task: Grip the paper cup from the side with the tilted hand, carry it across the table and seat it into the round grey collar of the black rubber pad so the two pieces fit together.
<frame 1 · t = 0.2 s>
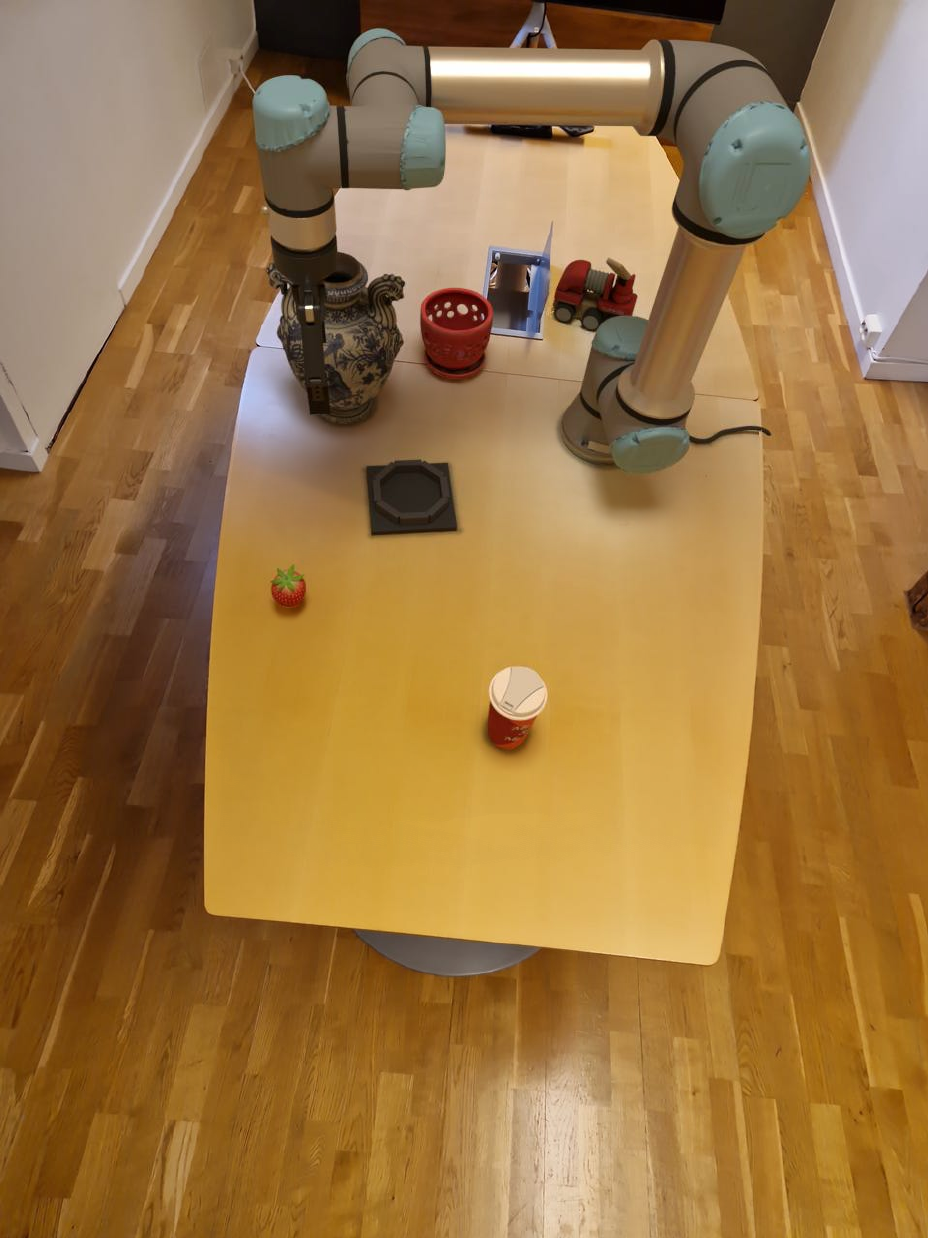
hand: (318, 376, 111), 28 cm above the table, tool pointing down, fingers open, 13 cm apart
toy fire truck: (588, 322, 164), on the table
plant pot: (453, 361, 155), on the table
fruit: (291, 603, 125), on the table
pad: (410, 499, 137), on the table
decorative vase: (344, 403, 147), on the table
paper cup: (506, 731, 117), on the table
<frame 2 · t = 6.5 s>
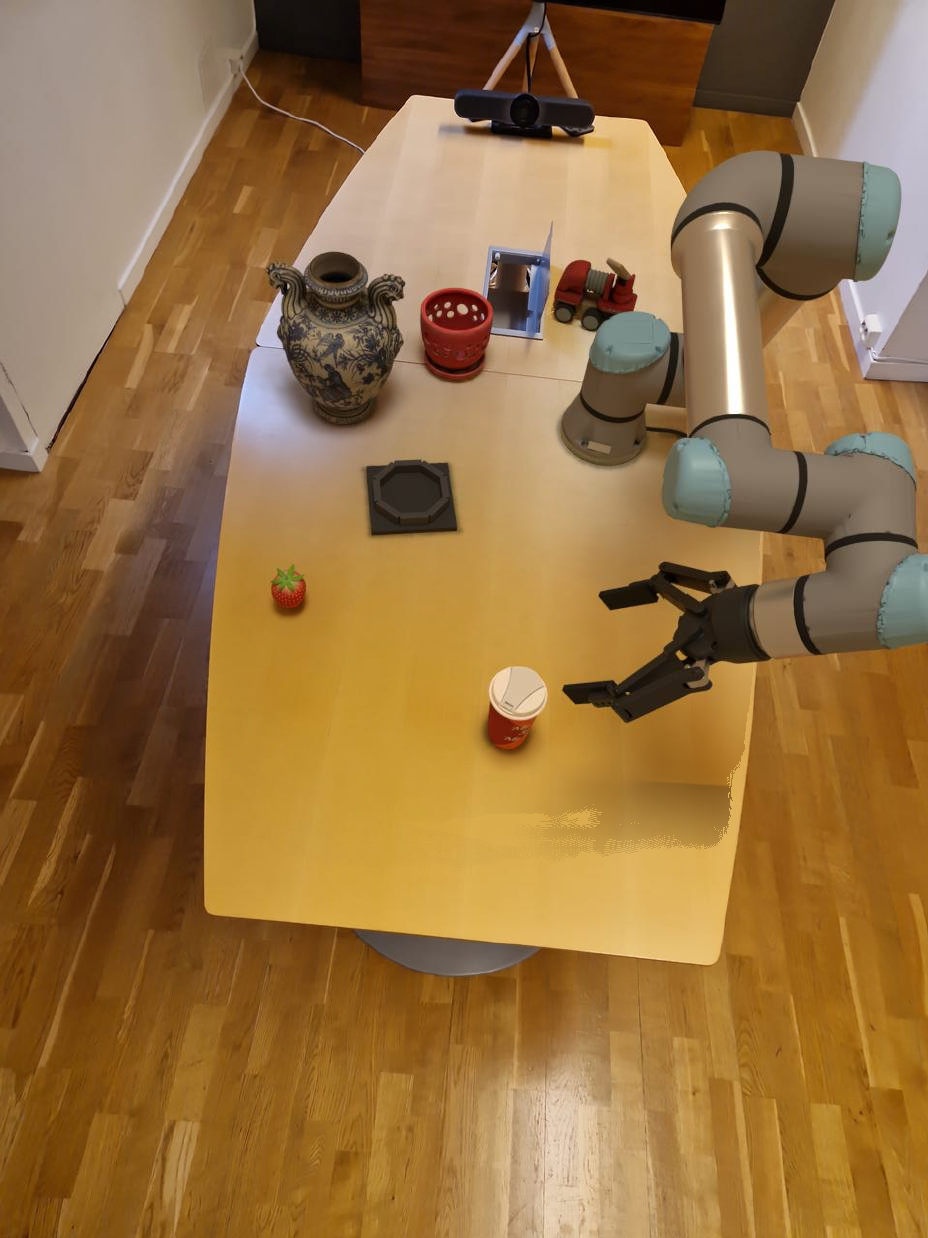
hand: (587, 646, 93), 28 cm above the table, tool tilted 45°, fingers open, 13 cm apart
nothing on the table moved.
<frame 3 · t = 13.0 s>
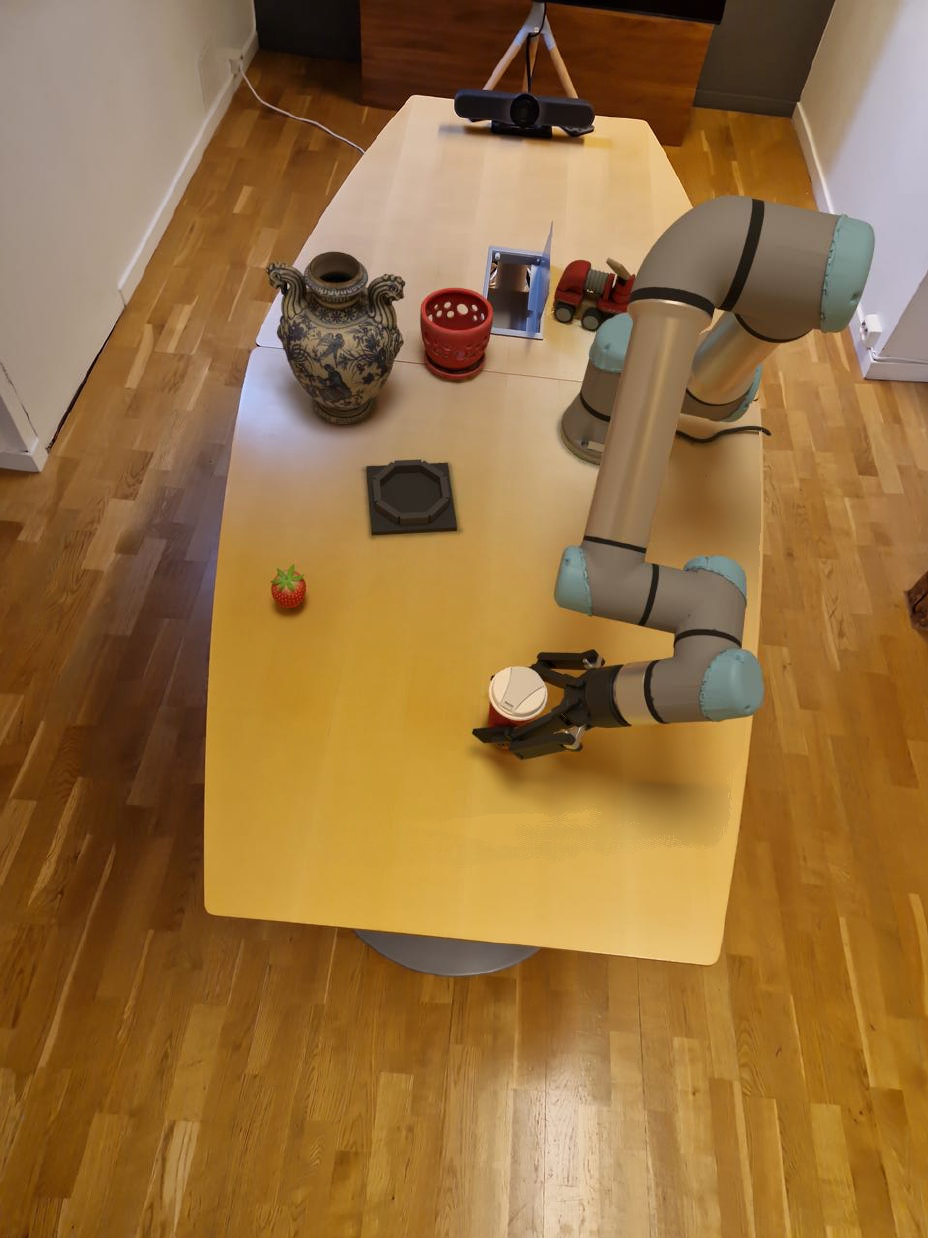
hand: (487, 709, 113), 5 cm above the table, tool tilted 45°, fingers closed on paper cup, 8 cm apart
paper cup: (506, 731, 117), on the table, touching gripper
everything else where it was.
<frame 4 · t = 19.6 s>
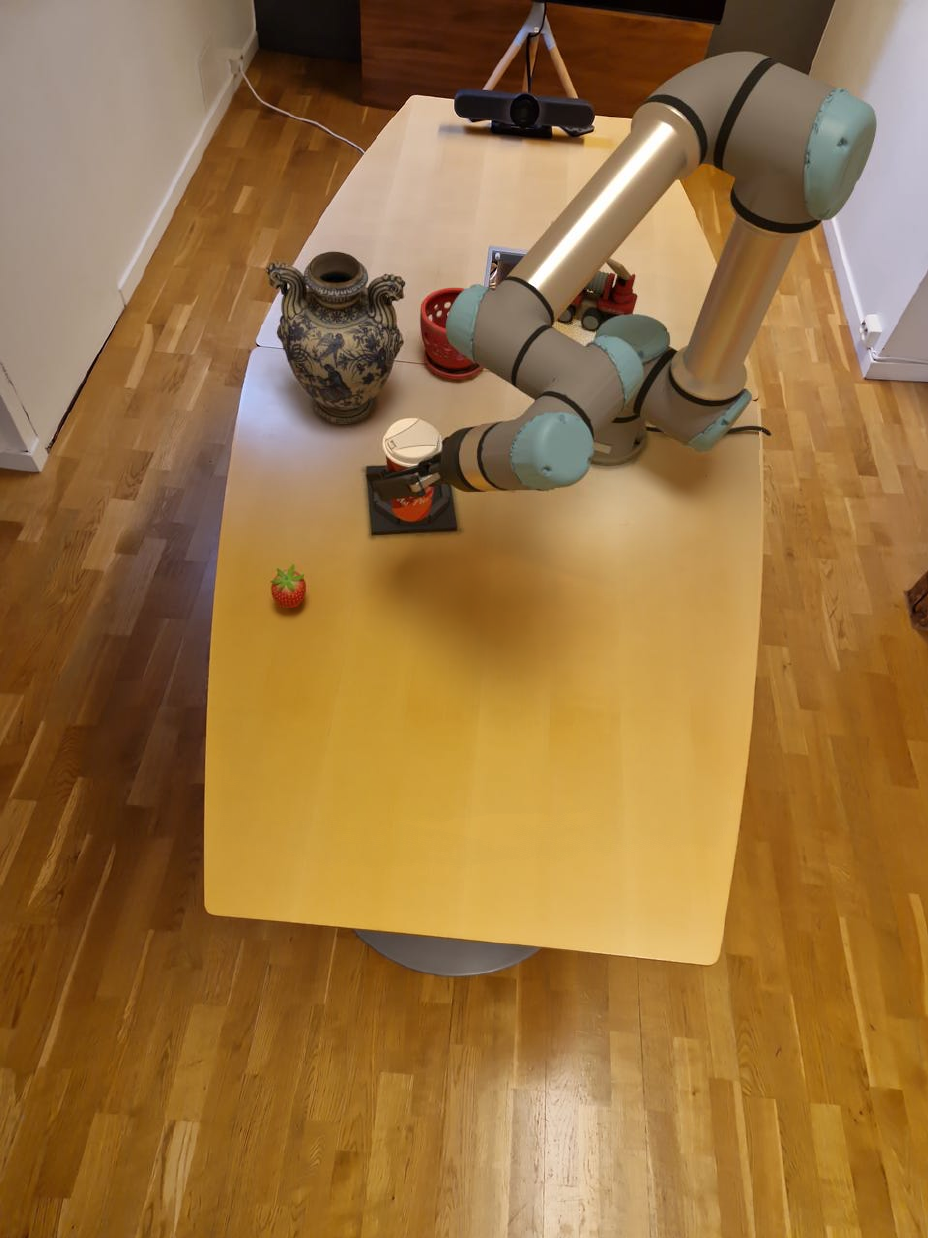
hand: (396, 467, 112), 21 cm above the table, tool tilted 45°, fingers closed on paper cup, 8 cm apart
paper cup: (411, 506, 116), point 16 cm above the table, touching gripper
everything else where it was.
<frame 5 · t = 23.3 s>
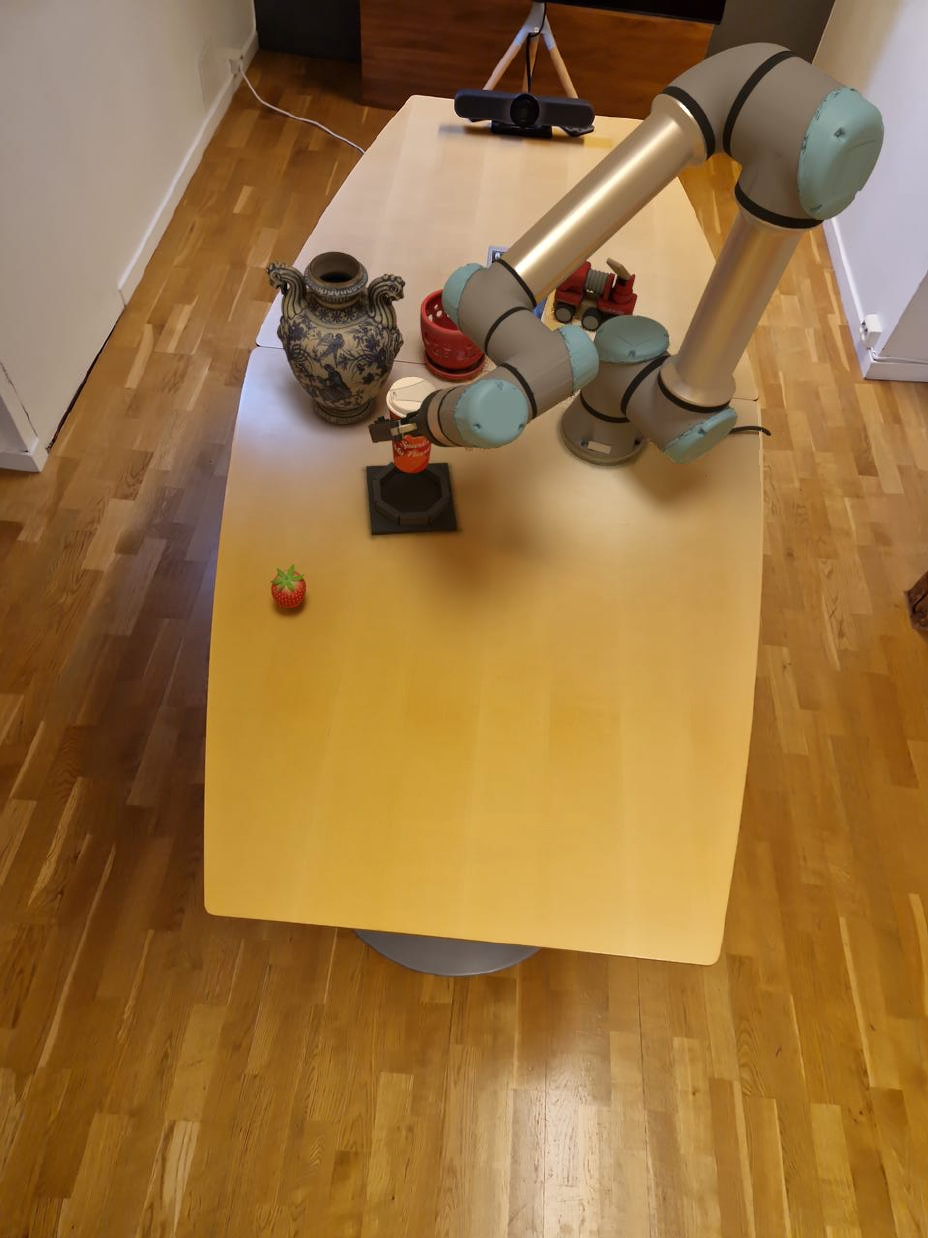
hand: (403, 421, 126), 15 cm above the table, tool tilted 45°, fingers closed on paper cup, 8 cm apart
paper cup: (411, 460, 129), point 10 cm above the table, touching gripper
everything else where it was.
when the fingers open (6 cm above the table, at t = 26.2 s): paper cup stays where it is, resting on pad.
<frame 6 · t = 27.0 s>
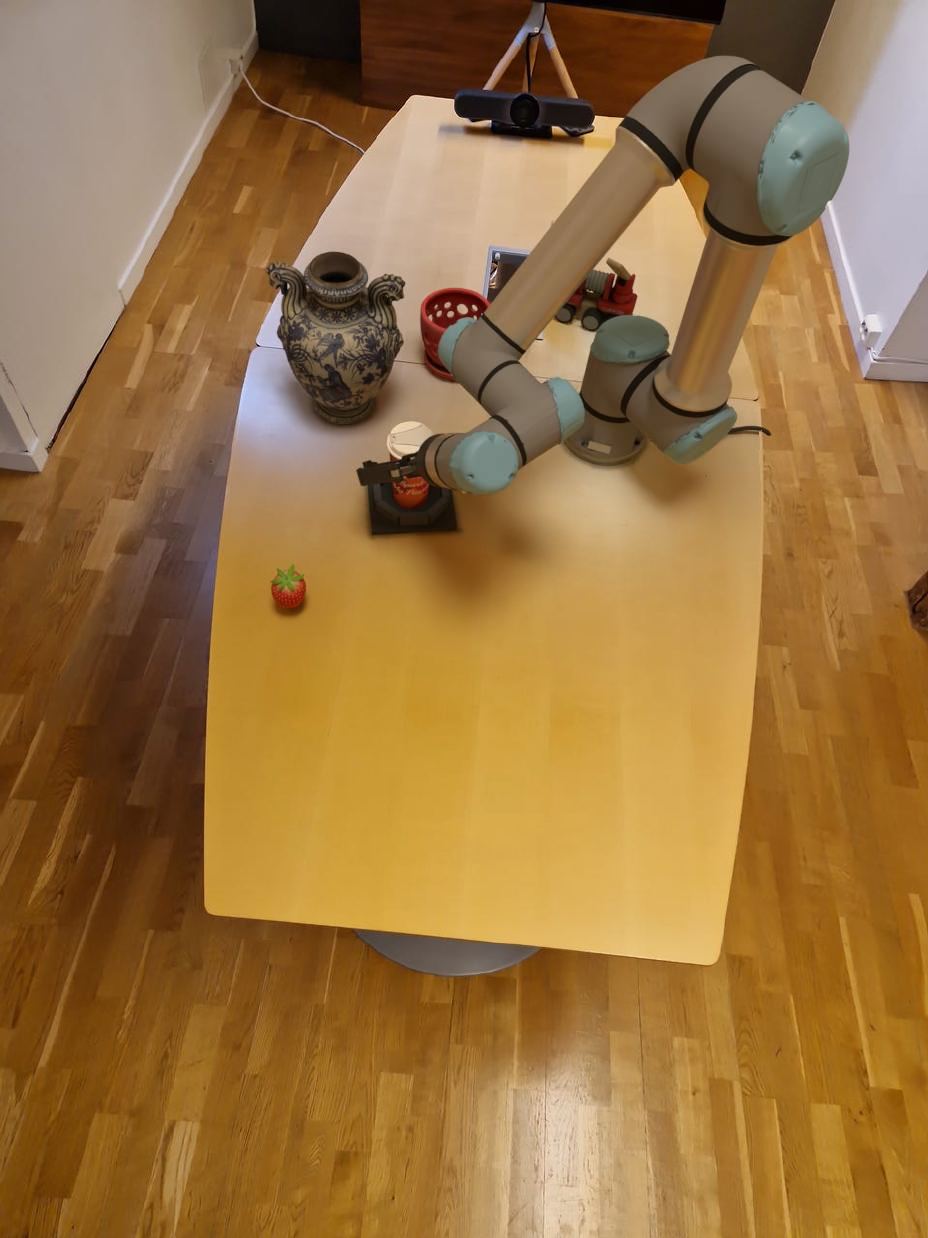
hand: (406, 458, 131), 8 cm above the table, tool tilted 45°, fingers open, 13 cm apart
paper cup: (410, 496, 136), point 1 cm above the table, touching pad
everything else where it was.
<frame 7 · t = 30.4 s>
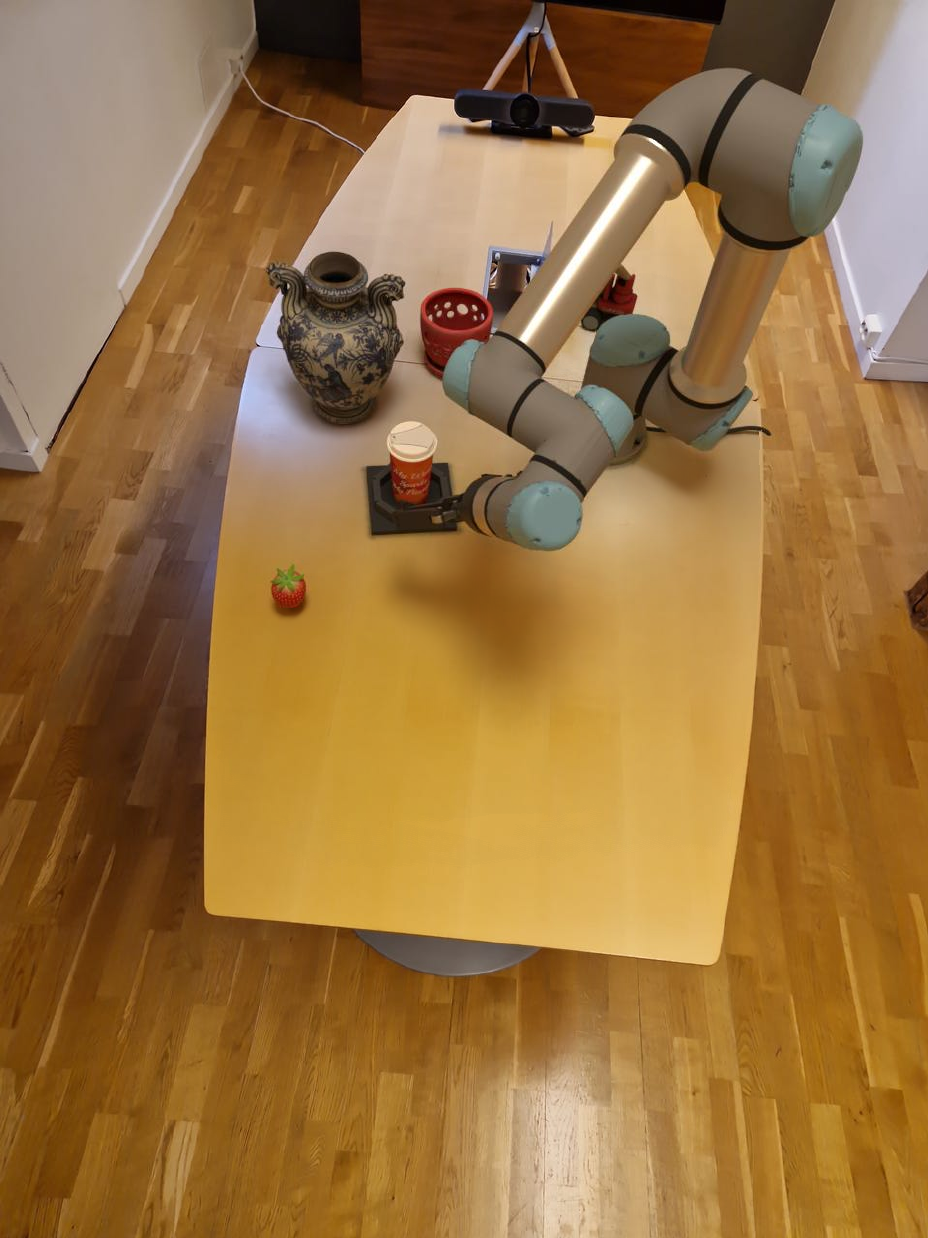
hand: (443, 496, 120), 14 cm above the table, tool tilted 45°, fingers open, 13 cm apart
nothing on the table moved.
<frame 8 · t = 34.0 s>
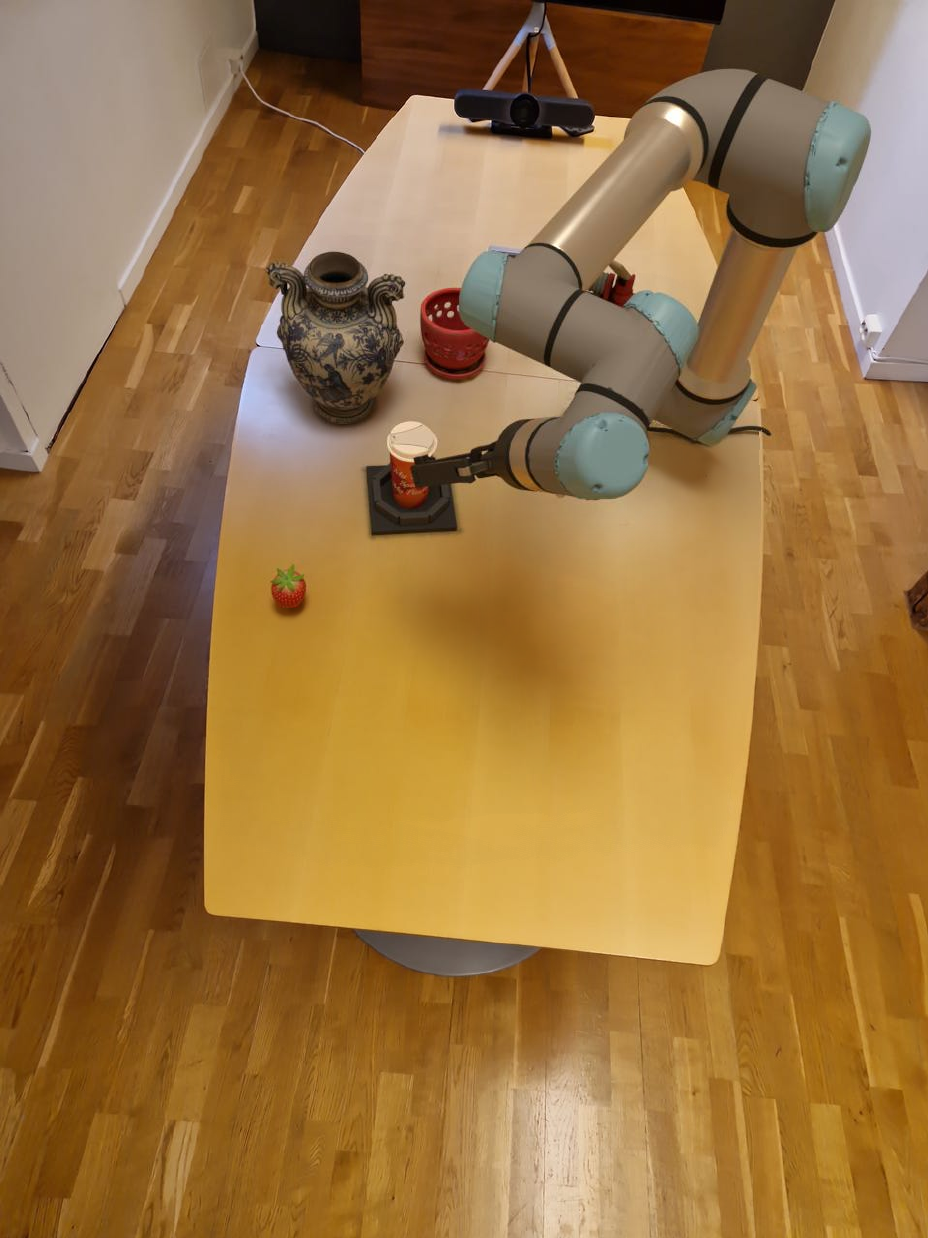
hand: (467, 452, 104), 30 cm above the table, tool tilted 45°, fingers open, 13 cm apart
nothing on the table moved.
at the end: paper cup 0.0 cm off-centre on the pad, point 0.8 cm above the pad's base; paper cup tilted 0°; the gripper is holding nothing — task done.
